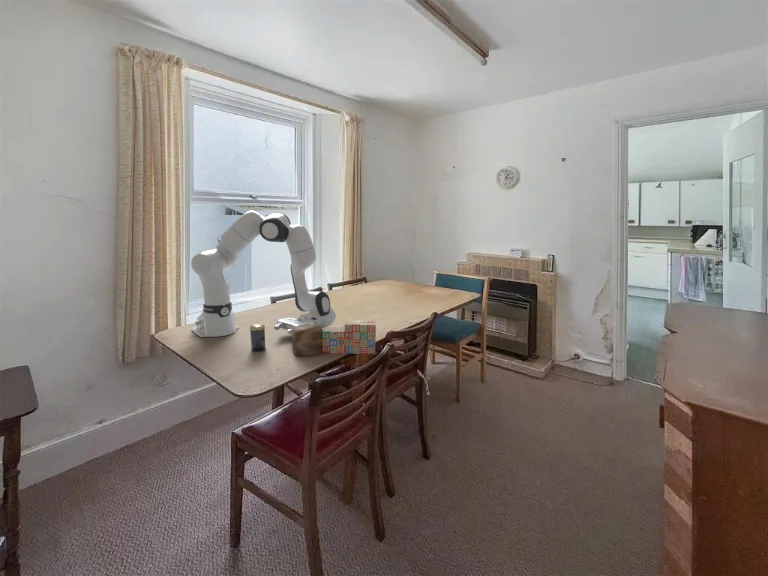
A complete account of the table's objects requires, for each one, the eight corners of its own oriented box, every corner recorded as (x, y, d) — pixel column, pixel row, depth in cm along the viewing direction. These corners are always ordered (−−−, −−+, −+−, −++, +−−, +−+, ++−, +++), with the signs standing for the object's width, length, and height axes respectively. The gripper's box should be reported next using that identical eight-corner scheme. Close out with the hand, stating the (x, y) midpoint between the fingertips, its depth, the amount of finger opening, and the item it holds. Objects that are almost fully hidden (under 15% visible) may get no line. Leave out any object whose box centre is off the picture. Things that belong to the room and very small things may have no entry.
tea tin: (248, 349, 157) (247, 326, 156) (260, 346, 162) (259, 323, 160) (256, 352, 154) (255, 328, 152) (268, 349, 158) (267, 325, 156)
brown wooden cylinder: (286, 352, 154) (285, 328, 153) (309, 345, 164) (308, 322, 162) (306, 359, 147) (305, 334, 145) (329, 351, 156) (328, 327, 155)
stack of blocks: (322, 353, 154) (321, 323, 152) (324, 348, 160) (324, 319, 158) (375, 354, 153) (375, 324, 151) (375, 349, 160) (375, 320, 157)
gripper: (291, 313, 182) (266, 318, 172) (321, 320, 170) (296, 327, 159) (292, 325, 183) (267, 332, 173) (321, 334, 171) (296, 341, 160)
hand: (281, 330), depth 166 cm, fingers open, 8 cm apart
